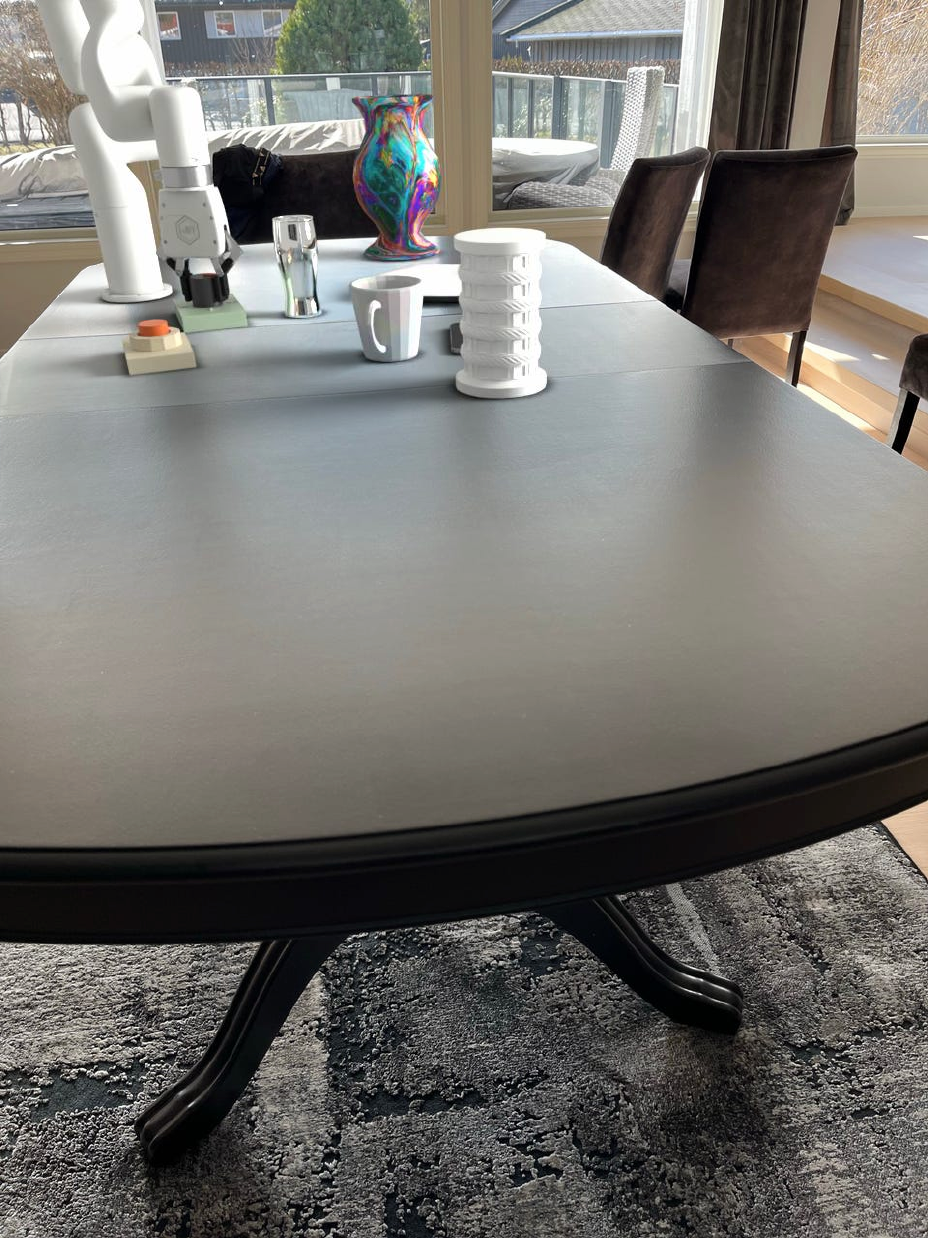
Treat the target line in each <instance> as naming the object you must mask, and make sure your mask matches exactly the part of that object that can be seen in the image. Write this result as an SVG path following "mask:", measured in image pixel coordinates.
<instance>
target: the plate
mask: <svg viewBox="0 0 928 1238" xmlns="http://www.w3.org/2000/svg"><path fill="white" fill-rule="evenodd" d="M459 265H460V263H458V264H457V263H455V264H454V263H453V264H452V263H451V264H450V263H449V264H447V263H446V264H444V263H443V264H440V263H439V264H438V263H435V264H410V265H405V266H402V267H397V268H394V269H390V270H385V271H383V272H381V273H380V272H379V273H378V274H375V275H374V276H382V275H406V276H413V277H417V278H420V279H422V280H423V281H424V292H423V302H445V303H446V302H459V295H460V292H461V291H462V285H461V280H460V279H459V275H458V268H459Z"/></svg>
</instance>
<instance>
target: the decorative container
mask: <svg viewBox="0 0 928 1238" xmlns="http://www.w3.org/2000/svg"><path fill="white" fill-rule="evenodd" d="M545 246H546V233H545V232H544V231H542V230H538V229H532V228H522V227H491V228H480V229H479V228H478V229H472V230H471V229H470V230H466V231H462V232H458V233H456V234H454V235H453V248H454V250H455V251H457V252H459V253H460V263H459V268H458V275H459V279H460V280H461V285H462V291H461V292H460V295H459V301H458V303H459V306H460V309H461V311H462V312H461V313H462V315H461V318H460V319H459V321H460V322H459V323H460V330H461V333H462V334H463V344H462V346H461V352H460V353H459V354H460V356H461V359H462V360H463V368H462V369H460V370H459V371H458V372H457V373H456V374H455V387H456V389H457V390H458V391H459V392H461V393H462V394H465V395H468V396H471V397H477V398H483V399H514V398H520V397H526V396H530V395H534V394H536V393H538V392H540V391H542V390H543V389H545V388H546V385H547V372H546V371H545V370H544V369H543V368H541V367H540V366H539V358H540V356H541V353H542V352H541V351H542V347H541V343H540V341H539V333H540V331H541V328H542V320H541V317H540V315H539V306H540V305H541V302H542V298H543V296H542V291H541V290H540V287H539V285H540V283H539V282H540V279H541V277H542V271H543V268H542V263H541V261H540V250H542V249H544V248H545Z"/></svg>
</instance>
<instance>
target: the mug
mask: <svg viewBox="0 0 928 1238" xmlns="http://www.w3.org/2000/svg"><path fill="white" fill-rule="evenodd" d="M348 291H349V295H350V300H351V304H352V308H353V312H354V317H355V321H356V325H357V329H358V334H359V338H360V342H361V346H362V351H363V354H364V356H365V358H366V359H368V360H371V361H374V362H380V363H381V362H383V363H393V362H402V361H407V360H409V359H412V358H414V357H416V356H417V354H418V352H419V345H420V342H419V341H420V333H421V324H422V323H421V322H422V312H423V302H424V301H423V292H424V281H423V280H422V279H420V278H417V277H413V276H406V275H382V276H375V275H372V276H366V277H362V278H361V277H360V278H358V279H354V280H353V281H351V282H350V283H349V284H348Z"/></svg>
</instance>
